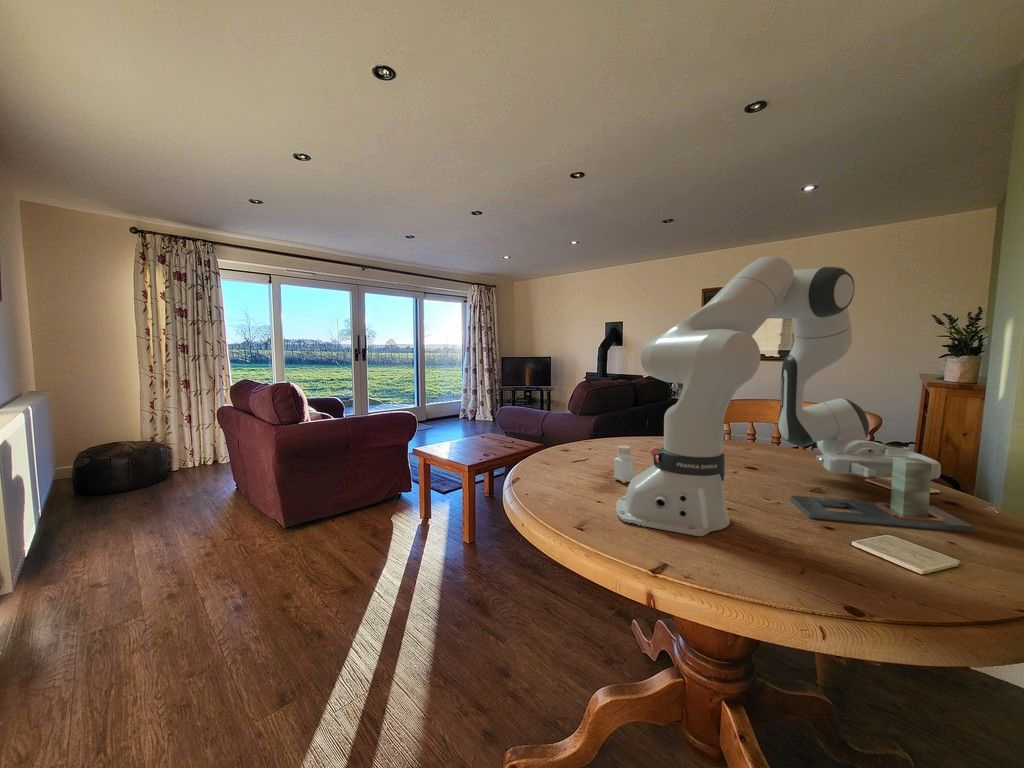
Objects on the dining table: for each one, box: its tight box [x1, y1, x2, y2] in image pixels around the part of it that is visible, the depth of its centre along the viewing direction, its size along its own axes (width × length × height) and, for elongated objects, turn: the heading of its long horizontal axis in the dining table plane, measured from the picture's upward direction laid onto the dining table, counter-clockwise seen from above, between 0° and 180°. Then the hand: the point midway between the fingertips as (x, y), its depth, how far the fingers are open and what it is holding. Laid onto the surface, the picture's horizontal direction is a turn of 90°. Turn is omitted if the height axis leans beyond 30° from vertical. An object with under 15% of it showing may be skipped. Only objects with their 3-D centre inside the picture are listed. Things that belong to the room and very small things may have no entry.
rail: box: [789, 495, 975, 534], centre depth 81 cm, size 26×10×2 cm, turn 73°
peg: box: [890, 457, 932, 518], centre depth 79 cm, size 4×4×12 cm
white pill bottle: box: [613, 444, 635, 481], centre depth 105 cm, size 4×4×10 cm
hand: (899, 475), depth 83 cm, fingers open, 8 cm apart
